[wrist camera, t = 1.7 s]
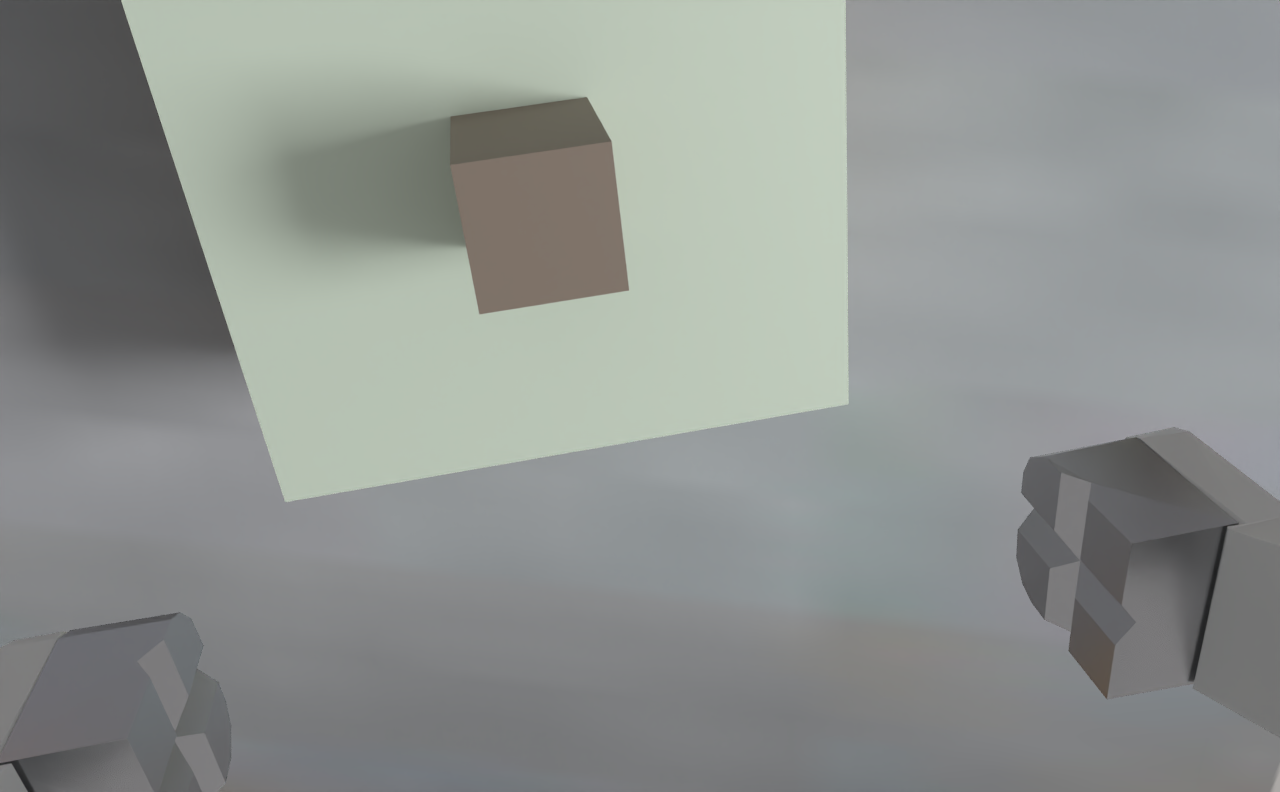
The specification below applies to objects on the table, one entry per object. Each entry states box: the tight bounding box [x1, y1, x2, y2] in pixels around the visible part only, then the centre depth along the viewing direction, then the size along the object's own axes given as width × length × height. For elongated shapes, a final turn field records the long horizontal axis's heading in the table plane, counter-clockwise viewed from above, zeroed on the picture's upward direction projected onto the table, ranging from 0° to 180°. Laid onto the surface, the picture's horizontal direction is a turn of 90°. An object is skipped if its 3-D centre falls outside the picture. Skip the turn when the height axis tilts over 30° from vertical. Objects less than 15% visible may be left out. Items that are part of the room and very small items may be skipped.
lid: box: [121, 0, 849, 502], centre depth 22 cm, size 15×15×5 cm
